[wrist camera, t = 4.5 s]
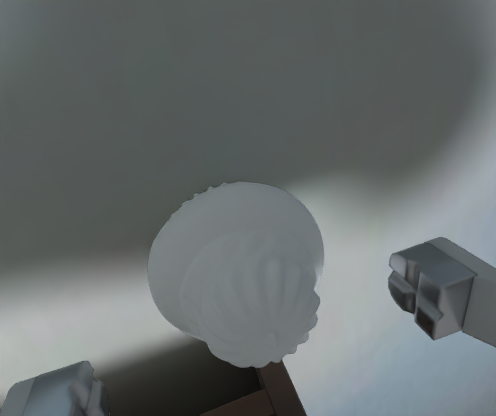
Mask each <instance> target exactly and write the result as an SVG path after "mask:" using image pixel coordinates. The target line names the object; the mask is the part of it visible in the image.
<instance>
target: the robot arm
mask: <svg viewBox="0 0 496 416" xmlns="http://www.w3.org/2000/svg"><path fill="white" fill-rule="evenodd" d="M389 266H390V267H391V268H392V269H393V272H392V273H391V275H390V276H389V278H388V288H389V290H390V293H391V296H392V298H393V299H394V301H395V302H396V304H397V305H398V306H399V307H400V308H401V309H402V310H404V311H407V312H410V313H412V314H414V321H415V323H416V324H417V325H418V326H419V327H420V328H421V329H422V330H423V331H424V332H425V333H426V334H427V335H428V336H429V337H431V338H432V339H433V340H437V339H439V338H442V337H445V336H448V335H450V334H453V333H456V332H458V331H461V330H462V332H464V333H466V334H468V335H470V336H472V337H474V338H477V339H479V340H481V341H483V342H485V343H487V344H490V345H492V346H494V347H496V268H494V267H492V266H491V265H489V264H488V263H486V262H484V261H483V260H481V259H479V258H478V257H476V256H474V255H473V254H471V253H470V252H468V251H466V250H465V249H463V248H461V247H460V246H458V245H457V244H455V243H453V242H452V241H450V240H448V239H447V238H443V237H438V238H435V239H432V240H429V241H426V242H424V243H421V244H418V245H415V246H413V247H410V248H407V249H404V250H401V251H399V252H396V253H393V254H392V255H391V257H390V260H389ZM93 375H94V369H93V367H92V366H91V364H90V363H89V361H82V362H79V363H75V364H72V365H69V366H66V367H63V368H60V369H57V370H54V371H51V372H47V373H44V374H41V375H39V376H37V377H33V378H30V379H27V380H24V381H21V382H18V383H15V384H14V385H13V386H12V387H11V389H10V390H9V391H8V394H7V396H6V399H5V401H4V404H3V406H2V409H1V411H0V416H110V406H109V397H108V394H107V391H106V388H105V386H104V385H103V383H102V381H99V380H96V379H93Z"/></svg>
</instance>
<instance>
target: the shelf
mask: <svg viewBox="0 0 496 416" xmlns="http://www.w3.org/2000/svg"><path fill="white" fill-rule="evenodd" d="M255 368H256V367H255ZM256 371H257V375H258V378H259V382H260V386H261V389H262V390H260V391H257V392H255V393H252V394H250V395H247V396H245V397H243V398H240V399H238V400H235V401H233V402H230V403H228V404H225V405H223V406H220V407H218V408H215V409H213V410H211V411H208V412H206V413H203V414H201V415H198V416H307V415H306V412H305V410H304V408H303V406H302V403H301V401H300V399H299V397H298V394H297V392H296V390H295V388H294V385H293V383H292V381H291V379H290V376H289V374H288V372H287V370H286V367H285V365H284V363H283V361H282V360H281V361H280V362H278V363H275V362H272V361H270V362H269V363H268V364H267V365H266V366H264V367H261V368H256Z"/></svg>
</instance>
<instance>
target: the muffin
mask: <svg viewBox="0 0 496 416" xmlns="http://www.w3.org/2000/svg"><path fill="white" fill-rule="evenodd" d="M323 264H324V247H323V241H322V237H321V233H320V230H319V228H318V225H317V223H316V221H315V219H314V218H313V216H312V214H311V213H310V212H309V210H308V209H307V208H306V207H305V206H304V205H303V204H302V203H301V202H300V201H299V200H298V199H297V198H295V197H294V196H292V195H291V194H289V193H287V192H285V191H283V190H281V189H279V188H276V187H273V186H270V185H265V184H260V183H253V182H242V181H238V182H236V183H231V184H228V183H226V182H224V183H223V184H221V185H220V186H219V187H216V188H213V187H209V188H208V189H207V191H206V192H204V193H195V194H194V197H193V199H191V200H189V201H186V202H183V203H182V204H181V208H180V209H179V210H177V211H176V212H174V213H173V214H171V218H170V219H169V220H168V221H167V222H166V223H165V225H164V226H163V227H162V229H161V230H160V232H159V233H158V235H157V236H156V238H155V240H154V242H153V244H152V247H151V250H150V253H149V258H148V267H147V272H148V282H149V287H150V290H151V294H152V297H153V299H154V302H155V304H156V306H157V308H158V309H159V311H160V312H161V314H162V315H163V316H164V317H165V318H166V319H167V320H168V321H169V322H170V323H171V324H172V325H174V326H175V327H176V328H178V329H179V330H181V331H182V332H184V333H186V334H188V335H190V336H192V337H194V338H197V339H200V340H202V341H205V342H206V343H207V345H208V347H209V349H210V351H211V352H212V354H213V355H215V356H216V357H218V358H219V359H221V360H223V361H227V362H229V363H230V364H232V365H235V366H237V367H241V368H245V367H250V366H253V367H256V368H261V367H264V366H266V365H267V364H268V363H269V362H270V361H272V362H275V363H278V362H280V361H281V360H282V358H283V357H284V355H286V354H294V353H295V352H296V349H297V345H298V344H301V343H304V342H306V341H307V340H308V338H309V333H308V331H310V330H311V329H312V328H313V327H314V326H315V325H316V323H317V320H318V318H317V315H316V313H315V312H316V311H317V309H318V307H319V304H320V298H319V296H318V295H317V294H316V293H315V290H316V288H317V286H318V283H319V281H320V278H321V274H322V270H323Z"/></svg>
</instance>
